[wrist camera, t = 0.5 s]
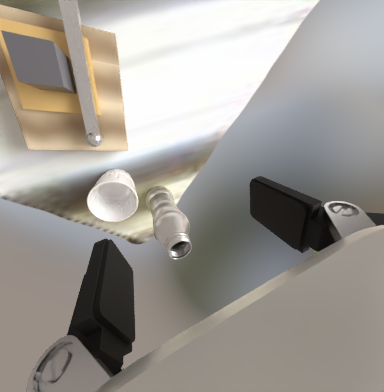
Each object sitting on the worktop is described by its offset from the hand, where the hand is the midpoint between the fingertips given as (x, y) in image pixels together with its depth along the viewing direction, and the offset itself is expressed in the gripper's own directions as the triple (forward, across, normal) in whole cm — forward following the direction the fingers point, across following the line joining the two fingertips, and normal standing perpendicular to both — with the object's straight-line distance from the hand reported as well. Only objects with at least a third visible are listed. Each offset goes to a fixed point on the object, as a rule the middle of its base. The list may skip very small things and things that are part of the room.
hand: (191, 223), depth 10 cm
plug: (+27, +8, -14) cm, 31 cm away
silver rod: (+23, +4, -14) cm, 28 cm away
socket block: (+29, +8, -12) cm, 32 cm away
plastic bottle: (+29, +1, +11) cm, 31 cm away
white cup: (+29, +9, +5) cm, 31 cm away
